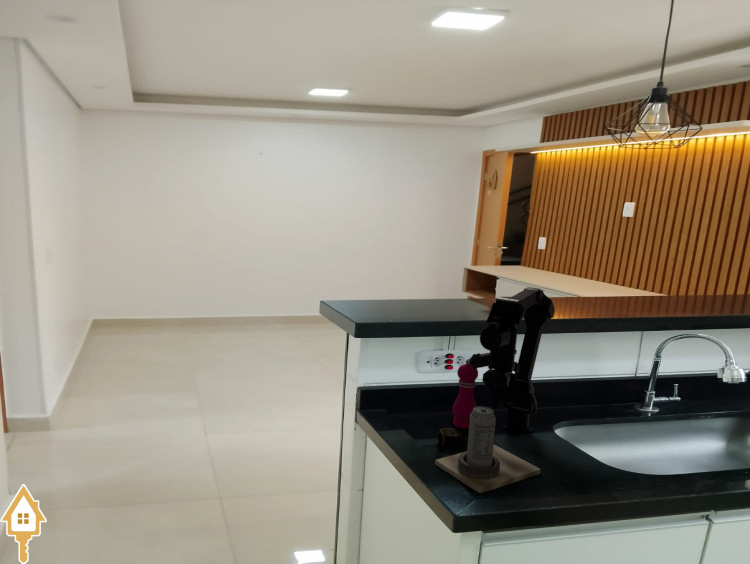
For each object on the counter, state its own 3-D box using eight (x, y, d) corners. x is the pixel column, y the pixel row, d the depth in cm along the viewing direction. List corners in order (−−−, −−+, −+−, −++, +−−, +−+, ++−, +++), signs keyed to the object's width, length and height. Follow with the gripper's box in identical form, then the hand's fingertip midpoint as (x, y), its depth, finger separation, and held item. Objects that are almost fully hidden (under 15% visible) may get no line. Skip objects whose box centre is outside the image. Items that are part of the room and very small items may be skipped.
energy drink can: (488, 464, 140) (493, 406, 138) (493, 475, 134) (498, 415, 132) (464, 463, 140) (468, 404, 137) (468, 474, 134) (472, 414, 132)
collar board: (493, 448, 152) (494, 435, 151) (540, 473, 139) (541, 459, 138) (435, 464, 141) (436, 450, 140) (480, 493, 128) (481, 478, 127)
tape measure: (466, 449, 151) (467, 435, 150) (443, 451, 149) (444, 437, 148) (455, 438, 157) (456, 425, 157) (433, 440, 155) (433, 427, 155)
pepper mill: (480, 428, 165) (485, 362, 162) (457, 430, 163) (462, 363, 160) (469, 419, 172) (474, 355, 169) (447, 421, 170) (452, 356, 167)
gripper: (482, 336, 160) (476, 390, 161) (465, 346, 143) (459, 406, 144) (522, 342, 155) (516, 397, 157) (509, 353, 138) (503, 415, 140)
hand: (498, 403), depth 150 cm, fingers open, 9 cm apart
